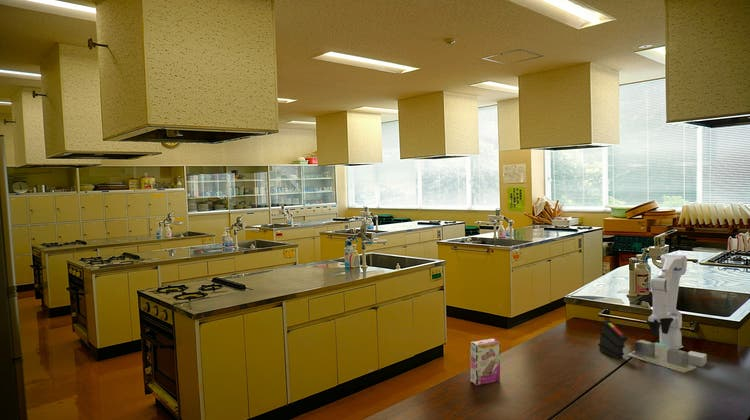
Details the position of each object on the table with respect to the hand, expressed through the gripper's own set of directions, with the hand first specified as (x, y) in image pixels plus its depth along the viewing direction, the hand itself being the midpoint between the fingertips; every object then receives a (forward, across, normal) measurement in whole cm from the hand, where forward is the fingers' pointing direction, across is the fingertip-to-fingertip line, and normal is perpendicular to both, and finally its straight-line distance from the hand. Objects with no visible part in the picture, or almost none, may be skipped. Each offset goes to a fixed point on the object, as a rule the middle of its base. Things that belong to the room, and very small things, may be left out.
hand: (660, 334), depth 214 cm
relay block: (+10, +4, -13) cm, 17 cm away
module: (+10, 0, 0) cm, 10 cm away
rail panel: (+10, -6, -4) cm, 12 cm away
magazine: (+10, -16, +12) cm, 22 cm away
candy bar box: (+10, -83, +22) cm, 86 cm away
